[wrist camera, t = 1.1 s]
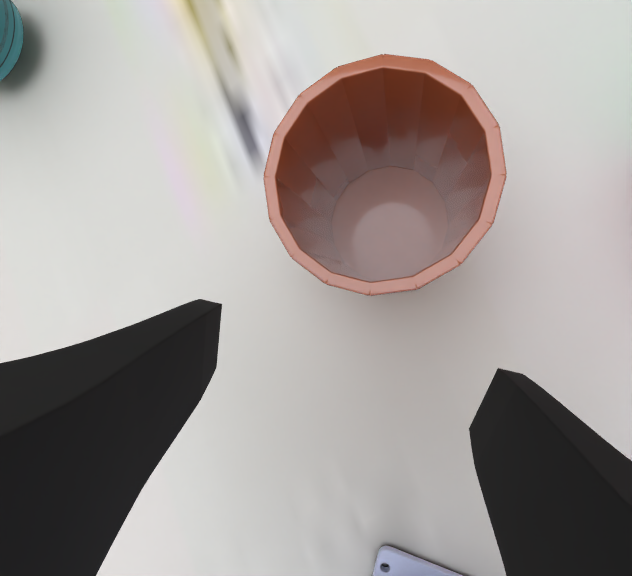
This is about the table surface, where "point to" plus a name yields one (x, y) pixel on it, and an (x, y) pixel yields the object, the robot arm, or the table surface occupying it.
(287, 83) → the table surface
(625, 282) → the table surface
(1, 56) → the beverage bottle
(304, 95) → the cup
